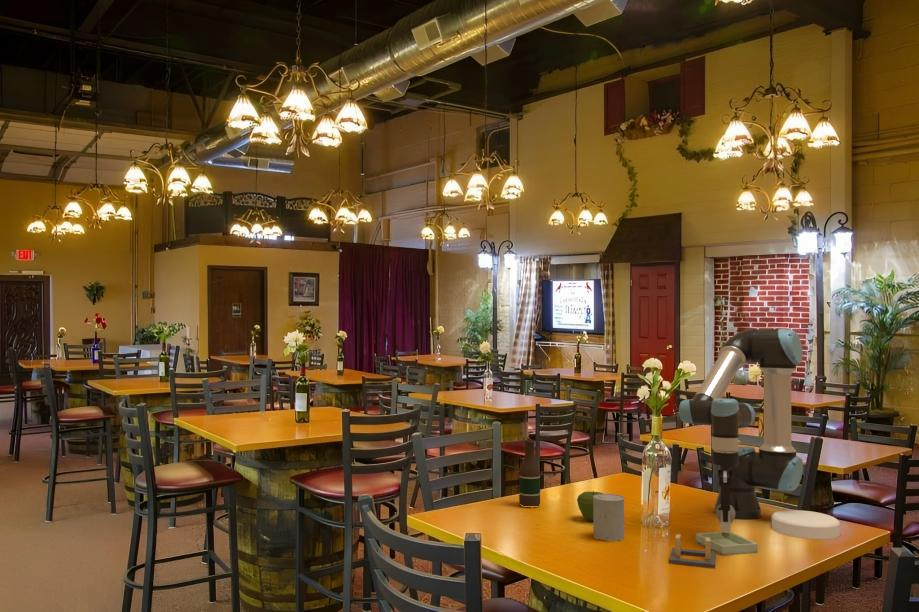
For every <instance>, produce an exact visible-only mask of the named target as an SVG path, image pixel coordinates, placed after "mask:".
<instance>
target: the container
mask: <svg viewBox="0 0 919 612" xmlns="http://www.w3.org/2000/svg"><path fill="white" fill-rule="evenodd" d="M771 529H772V530H773V531H774V532H777V533H779V534H781V535H784V536H789V537H793V538H799V539H805V540H806V539H807V540H833V539H837V538H840V536H841V521H839V519H837V518H836V517H835V516H832V515H829V514H826V513H822V512H816V511H810V510H799V509H785V510H783V509H782V510H778V511H775V512H774V513H773V514H772V515H771Z"/></svg>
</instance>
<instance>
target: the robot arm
mask: <svg viewBox="0 0 919 612" xmlns="http://www.w3.org/2000/svg"><path fill="white" fill-rule="evenodd" d="M803 351H804V350H803V345H802V341H801V338H800V335H798V333H797V332H796V331H795V330H793V329H786V328H785V329H783V328H771V329H769V328H767V329H763V328H760V329H759V328H758V329H754V328H751V329H750V328H748V329H745V330H742V331H740V332H738V333H736V334H734V335H732V336H731V337H730V338H729V339H728V340H726V341H725V342H724V343H723V344H722V345H721V347H720V348H719V350H718V353H717V359H716V361H715V362H714V364H713V366H712V367H711V369H710V370H709V372H708V373H707V375H706V377H705V379H704V381H703V382H702V384H701V385H700V387H699V389H698V390H697V392H696V393H695V395H694V396H693V397H692V399H684V400H682V401H681V402H680V403H679V406H678V415H679V419H680V420H681V422H683V423H685V424H686V423H687V424H690V425H691V424H692V425H702V426H703V425H704V426H711V449H712V451H711V463H712V464H713V465H716V466H719V469H717V470H718V471H717V472H718V473H717V475H718V476H717V477H718V485H719V492H718V495H717V497H716V501H715V504H714V513H715V514H716V508H717V507H718V506H719V505H720V504H721V506H720V508H718V510H720V512H721V523H720V532H722V533H730V532H731V525H730V505H731V506H732V507H733V508H734V510H735V518H734V519H739V520H741V519H743V520H745V519H746V520H748V519H749V520H750V519H757V518H760V517H761V516H762V511H761V510H762V509H761V506H760V503H759V500H758V497H757V495H756V487H757V488H765V489H772V490H778V491H785V492H791V491H794V490H796V489H797V488H798V486H799V484H800V483H801V480H802V476H803V471H804V463H803V459H802V457H800V456H798V455H797V449H796V448H795V447H794V446H793V445H792V375H793V373H794V372H795V371H796V370H797V365H800V364H801V363H802V361H803V356H804V355H803V354H804V353H803ZM750 363H758V369H760V371H761V372H762V373H763V444H761V446H759V447H758V451H757V452H756V448H755V447H754V446H739V445H741V443H742V442H741V440H739V429H745V428H747V427H748V426H750V425H752V424H753V423H754V422H755V419H756V411H755V409H754V408H753V406H752V405H751V404H749V403H746V402H738V400H737V399H735V398H723V397H724V396H725V393H726V391H727V389H728V388H729V386H730V384H731V382H732V381H733V379H735V376H736V375H737V373H738V371H739V370H740V369H742V368H743V367H744V366H745V365H746V364H750ZM726 505H727V506H726Z"/></svg>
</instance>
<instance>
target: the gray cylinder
mask: <svg viewBox="0 0 919 612" xmlns="http://www.w3.org/2000/svg"><path fill="white" fill-rule="evenodd" d="M592 522H593V523H592V525H593V528H592V529H593V531H592V532H593V535H594V537H595V538H598V539H601V540H605V541H604V542H609V541H615V542H619V541H618V540H622V539H624V540H625V538H624V537H625V497H624V496H623V495H620V494H616V493H615V494H613V493H604V494H597V495H594V496H593V521H592ZM594 537H593V538H594ZM595 538H594V539H595ZM598 539H597V540H598ZM601 540H600V541H601ZM622 541H623V540H622Z"/></svg>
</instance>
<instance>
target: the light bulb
mask: <svg viewBox="0 0 919 612" xmlns="http://www.w3.org/2000/svg"><path fill="white" fill-rule="evenodd" d="M720 506H721V504H720V505H719V506H718V507H717V508H716V513H715V515H716V519H717V520H718V521H719V522H718V523H720V524H721V512H720V510H718V508H720ZM726 506H727V505H726ZM735 519H736V518H735V510H734V508H733V507H732V506H731V505H730V525H731V524H732V523H733V521H734V520H735ZM722 536H723V537H725V538H727V537H729V533H722Z"/></svg>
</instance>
